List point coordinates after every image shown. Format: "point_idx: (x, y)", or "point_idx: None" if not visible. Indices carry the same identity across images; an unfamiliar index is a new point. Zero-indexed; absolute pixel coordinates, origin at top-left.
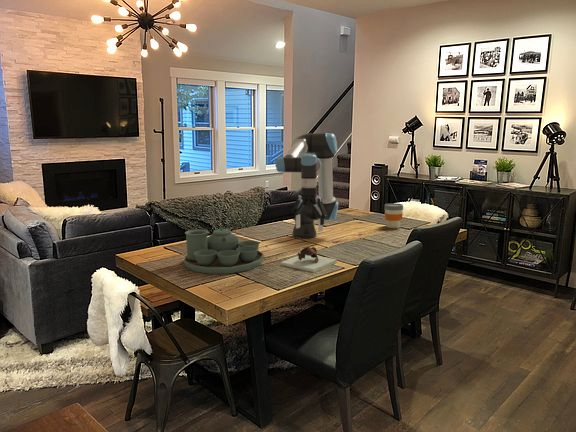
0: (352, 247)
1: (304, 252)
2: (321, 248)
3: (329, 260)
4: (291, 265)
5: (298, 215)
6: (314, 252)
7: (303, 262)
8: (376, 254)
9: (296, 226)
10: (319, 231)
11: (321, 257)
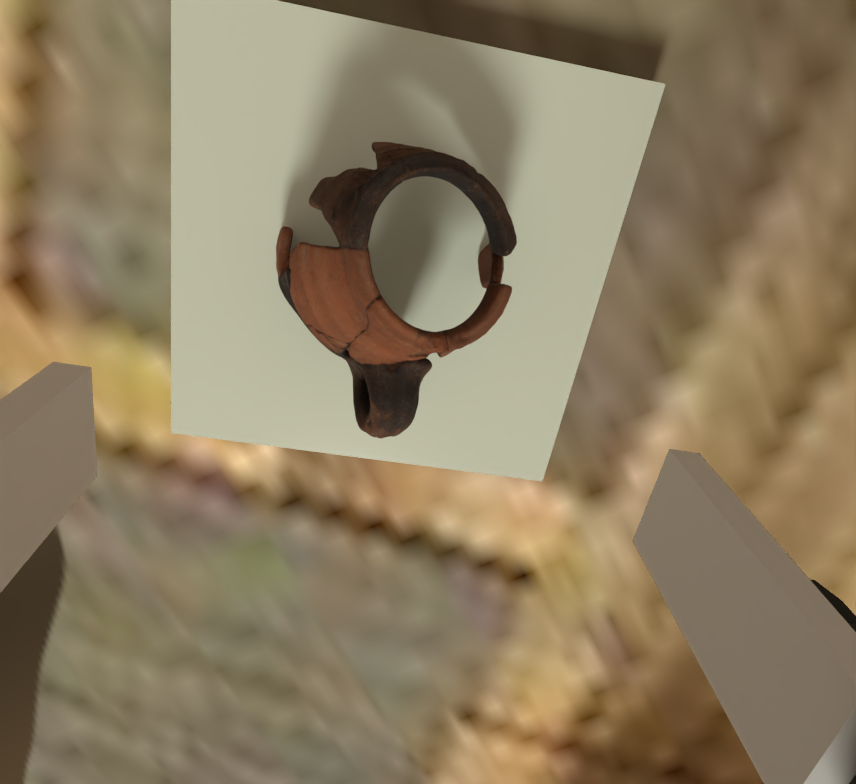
0: (292, 777)
1: (386, 167)
2: (491, 683)
3: (215, 376)
4: (511, 53)
5: (817, 748)
6: (295, 276)
7: (419, 192)
8: (42, 713)
9: (701, 473)
10: (50, 366)
11: (335, 430)
